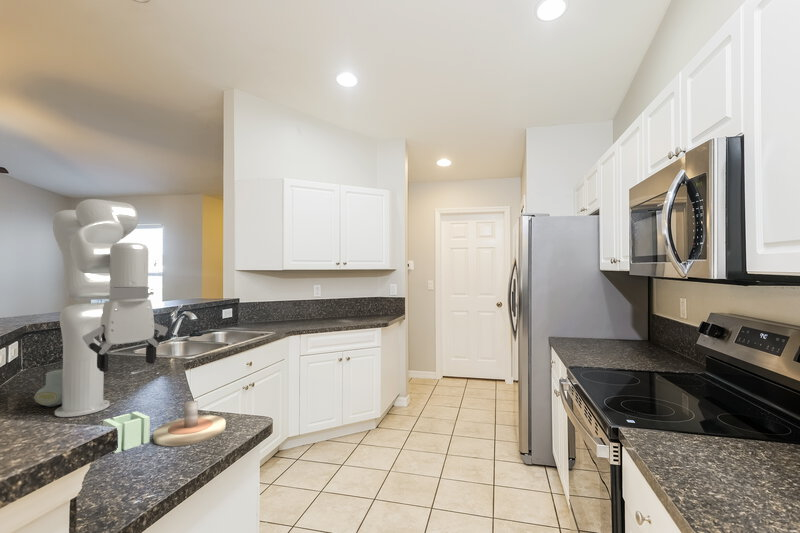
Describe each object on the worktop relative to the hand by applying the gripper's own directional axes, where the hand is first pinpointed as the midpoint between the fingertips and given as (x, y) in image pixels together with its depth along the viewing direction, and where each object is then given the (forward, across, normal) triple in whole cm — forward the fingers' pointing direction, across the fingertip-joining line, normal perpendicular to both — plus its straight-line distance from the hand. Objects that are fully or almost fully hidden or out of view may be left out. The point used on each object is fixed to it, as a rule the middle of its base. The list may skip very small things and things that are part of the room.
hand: (127, 366), depth 91 cm
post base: (+18, -12, +6) cm, 22 cm away
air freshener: (+18, -1, -52) cm, 55 cm away
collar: (+18, 0, 0) cm, 18 cm away
